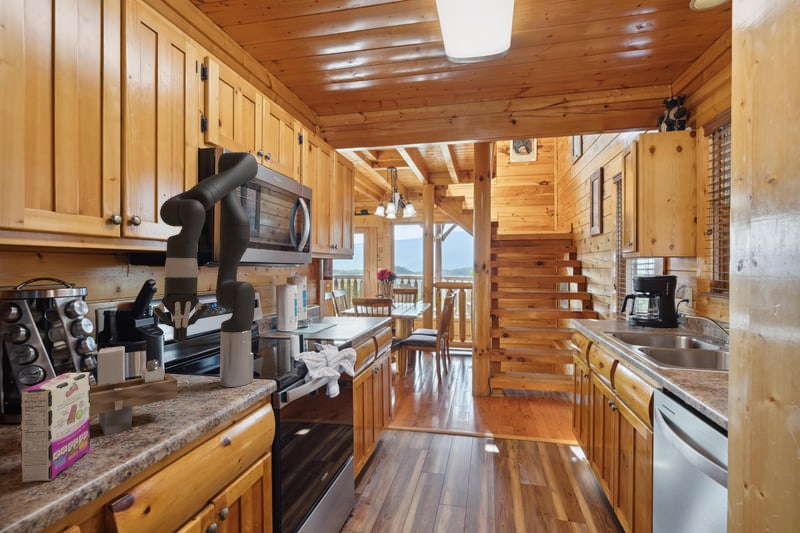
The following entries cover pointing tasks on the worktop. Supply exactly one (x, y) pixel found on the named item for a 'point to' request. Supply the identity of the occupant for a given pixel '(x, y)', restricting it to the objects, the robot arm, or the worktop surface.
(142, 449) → the worktop surface
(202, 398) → the worktop surface
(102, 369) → the skincare box
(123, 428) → the beam
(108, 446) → the worktop surface
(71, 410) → the candy bar box
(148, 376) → the rider
